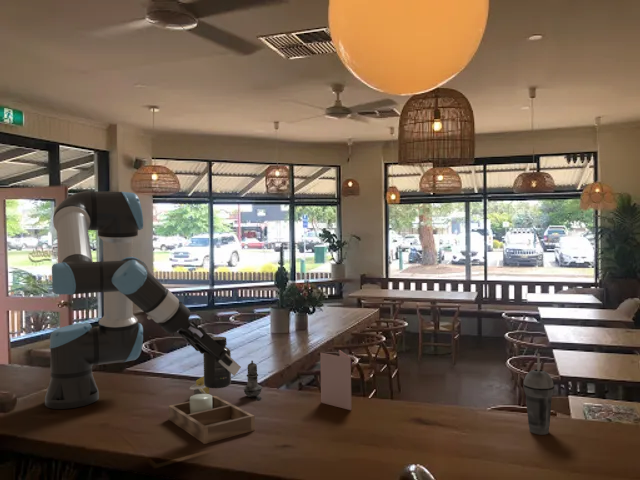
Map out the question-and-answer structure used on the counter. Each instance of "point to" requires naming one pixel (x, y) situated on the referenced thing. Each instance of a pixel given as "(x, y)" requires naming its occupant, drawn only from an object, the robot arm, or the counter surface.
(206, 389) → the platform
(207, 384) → the supplement bottle
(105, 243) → the robot arm
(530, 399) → the beverage cup
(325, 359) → the greeting card
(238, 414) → the caddy
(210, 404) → the pale green dome
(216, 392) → the counter surface
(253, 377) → the salt shaker
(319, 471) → the counter surface
